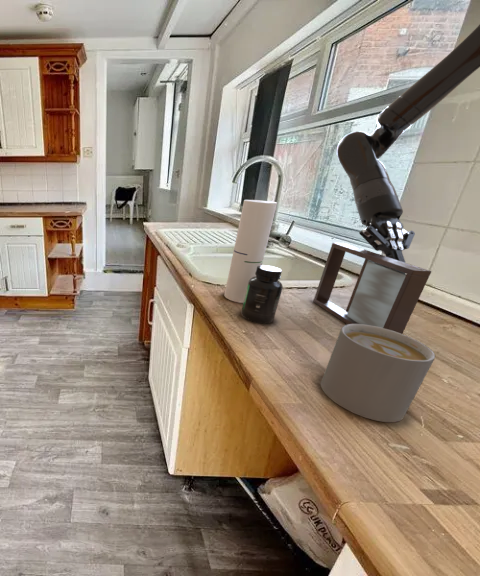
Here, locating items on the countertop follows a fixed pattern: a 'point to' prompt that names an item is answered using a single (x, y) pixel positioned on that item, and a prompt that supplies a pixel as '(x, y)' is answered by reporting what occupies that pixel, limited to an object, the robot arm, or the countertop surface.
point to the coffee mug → (375, 371)
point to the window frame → (374, 289)
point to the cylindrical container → (249, 246)
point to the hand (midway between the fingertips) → (398, 266)
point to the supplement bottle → (262, 295)
